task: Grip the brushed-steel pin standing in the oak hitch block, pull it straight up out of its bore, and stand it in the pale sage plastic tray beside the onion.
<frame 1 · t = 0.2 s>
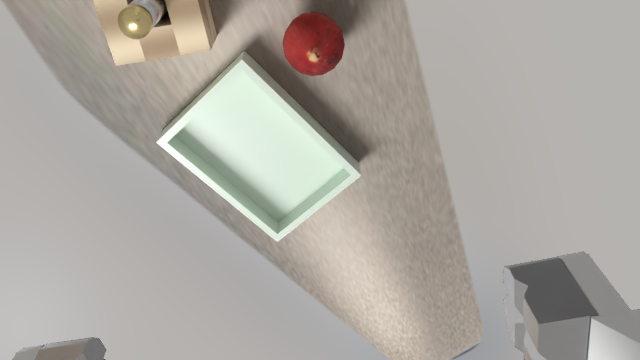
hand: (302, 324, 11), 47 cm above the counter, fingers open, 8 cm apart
onion: (312, 33, 55), on the counter
steel pin: (148, 9, 49), in the hitch block
tray: (262, 146, 61), on the counter
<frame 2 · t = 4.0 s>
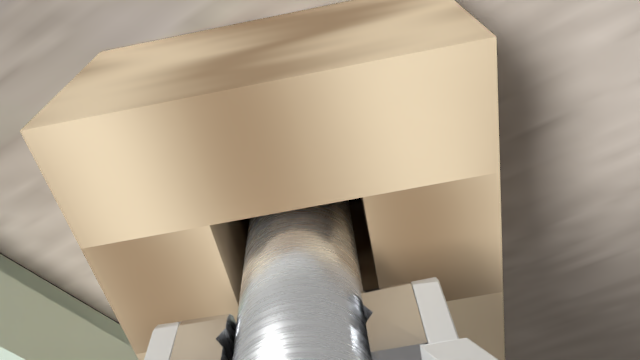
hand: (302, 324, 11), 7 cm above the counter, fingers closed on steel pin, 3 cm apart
steel pin: (301, 270, 12), in the hitch block, touching gripper
hitch block: (299, 165, 17), on the counter
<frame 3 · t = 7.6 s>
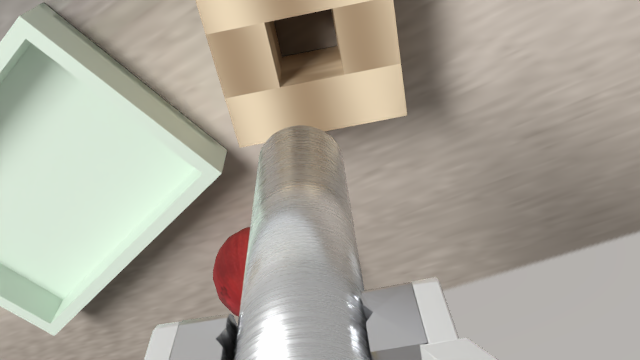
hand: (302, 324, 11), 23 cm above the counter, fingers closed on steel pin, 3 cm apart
onion: (262, 236, 38), on the counter
steel pin: (302, 266, 13), point 21 cm above the counter, touching gripper
hitch block: (303, 23, 31), on the counter
tray: (58, 177, 35), on the counter
when the fingers open (8 cm above the counter, at t = 11.1 s): steel pin stays where it is, resting on tray.
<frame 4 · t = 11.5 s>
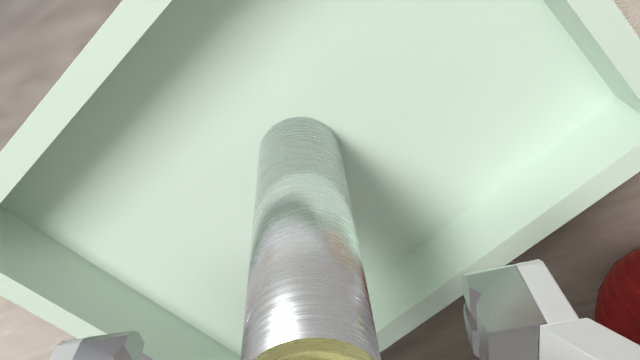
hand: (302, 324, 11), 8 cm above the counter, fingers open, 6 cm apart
onion: (631, 255, 21), on the counter
steel pin: (305, 251, 13), in the tray, point 6 cm above the counter
tray: (298, 143, 18), on the counter
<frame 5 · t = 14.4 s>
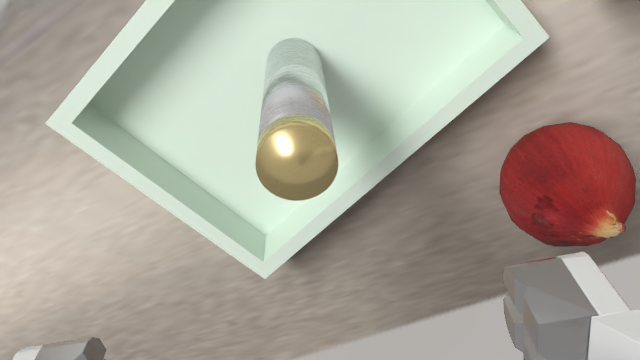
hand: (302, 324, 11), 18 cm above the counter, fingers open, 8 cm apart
onion: (532, 148, 30), on the counter
steel pin: (295, 105, 21), in the tray, point 6 cm above the counter
tray: (292, 59, 26), on the counter
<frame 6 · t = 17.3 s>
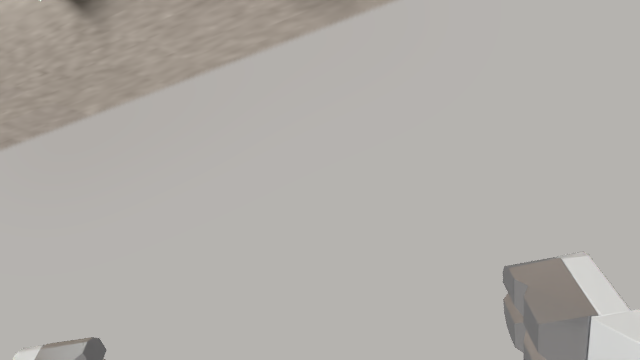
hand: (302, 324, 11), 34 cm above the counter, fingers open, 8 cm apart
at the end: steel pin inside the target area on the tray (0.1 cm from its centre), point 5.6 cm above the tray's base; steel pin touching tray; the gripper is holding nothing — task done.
